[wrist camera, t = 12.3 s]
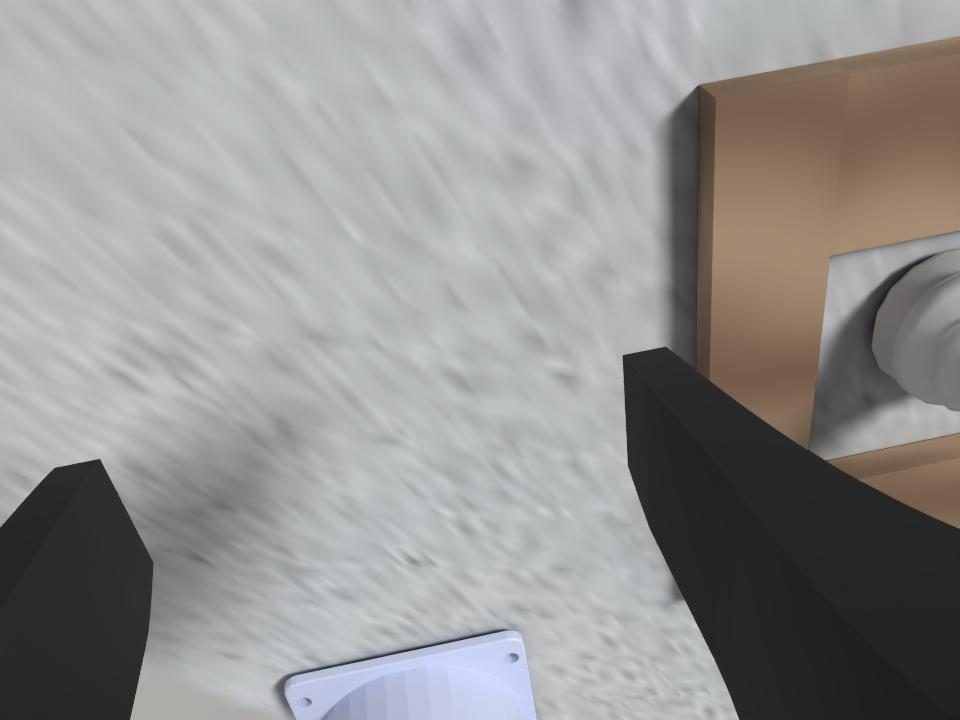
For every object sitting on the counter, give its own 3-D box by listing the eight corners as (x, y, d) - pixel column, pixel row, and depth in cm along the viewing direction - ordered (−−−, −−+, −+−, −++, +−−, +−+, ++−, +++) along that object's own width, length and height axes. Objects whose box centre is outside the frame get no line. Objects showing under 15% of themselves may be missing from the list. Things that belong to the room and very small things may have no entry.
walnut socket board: (1088, 501, 30) (1110, 521, 29) (693, 584, 29) (704, 608, 29) (1285, -24, 20) (1326, -15, 19) (699, 85, 20) (716, 98, 19)
